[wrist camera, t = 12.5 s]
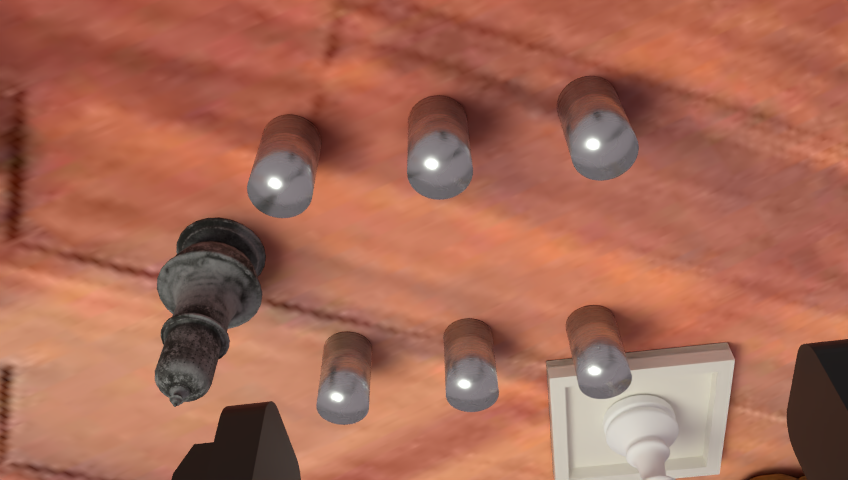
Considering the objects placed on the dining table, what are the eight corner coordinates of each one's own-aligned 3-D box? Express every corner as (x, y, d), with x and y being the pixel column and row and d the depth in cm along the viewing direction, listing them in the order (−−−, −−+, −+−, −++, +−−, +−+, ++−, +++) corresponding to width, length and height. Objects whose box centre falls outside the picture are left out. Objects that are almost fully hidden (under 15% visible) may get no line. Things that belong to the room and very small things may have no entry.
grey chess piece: (236, 199, 46) (190, 347, 37) (288, 271, 49) (259, 424, 40) (151, 234, 48) (86, 386, 38) (208, 302, 51) (160, 457, 41)
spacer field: (617, 72, 42) (639, 119, 38) (615, 338, 53) (631, 396, 49) (255, 119, 43) (239, 168, 39) (329, 368, 55) (322, 426, 51)
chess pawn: (651, 383, 55) (686, 497, 48) (686, 420, 57) (724, 534, 50) (588, 413, 57) (612, 527, 49) (624, 449, 59) (652, 562, 52)
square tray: (727, 342, 53) (734, 359, 52) (712, 456, 61) (719, 474, 59) (546, 361, 54) (549, 378, 53) (553, 471, 61) (555, 489, 60)
